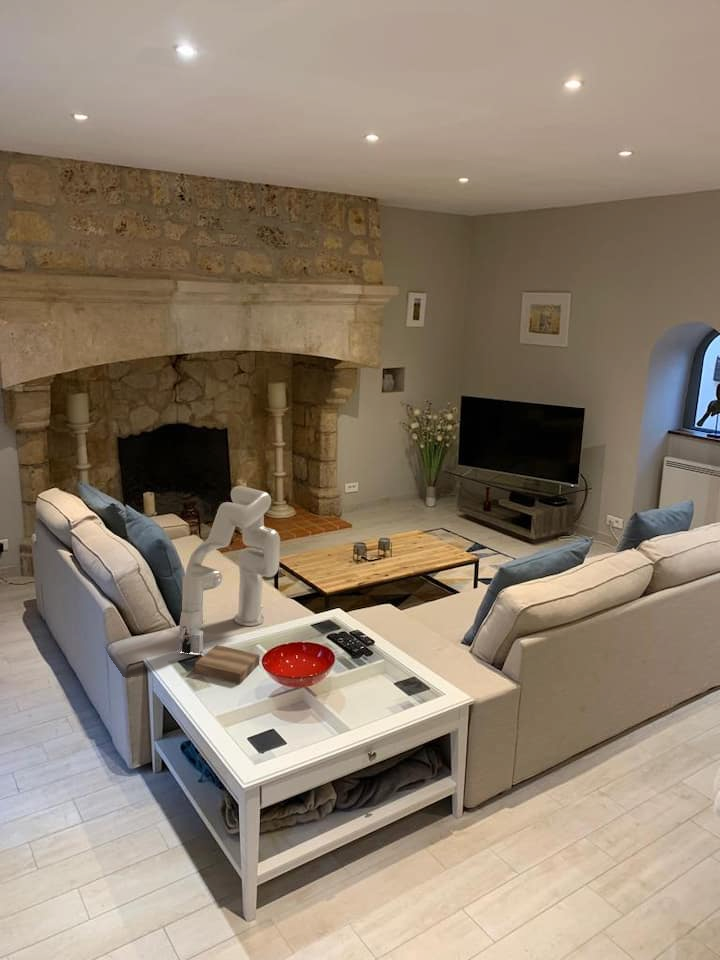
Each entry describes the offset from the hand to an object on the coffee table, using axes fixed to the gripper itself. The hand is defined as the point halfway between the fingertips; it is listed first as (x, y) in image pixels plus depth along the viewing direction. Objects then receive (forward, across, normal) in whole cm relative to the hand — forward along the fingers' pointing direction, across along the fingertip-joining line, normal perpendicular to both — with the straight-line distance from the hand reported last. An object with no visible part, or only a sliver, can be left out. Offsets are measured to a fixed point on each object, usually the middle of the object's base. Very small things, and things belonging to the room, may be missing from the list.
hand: (191, 648), depth 276 cm
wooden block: (+2, +5, +18) cm, 19 cm away
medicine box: (+2, 0, 0) cm, 2 cm away
